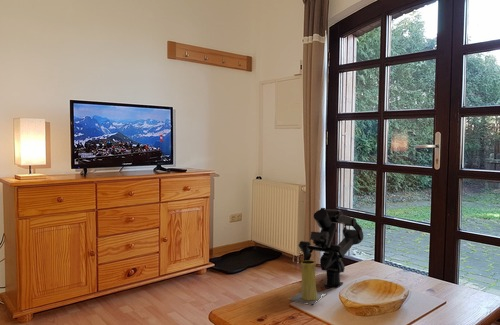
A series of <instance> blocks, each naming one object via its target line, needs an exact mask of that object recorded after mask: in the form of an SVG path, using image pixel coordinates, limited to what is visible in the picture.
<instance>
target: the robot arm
mask: <svg viewBox="0 0 500 325" xmlns="http://www.w3.org/2000/svg"><path fill="white" fill-rule="evenodd" d="M313 219H314V221H315V222H316V224H317V225H318V228H320V231H311V232H310V237H309V240H310V241H311V240H312V243H313V244H315V245H313V244H311V243H310V241H307V240H300V241H299V243H298V247H299V249H300V250H301V252H302V253H303V261H305V260H311V257H312V253H313V252H314V251H315V252H316V251H317V252H322V255H321V256H320V258H319V263H320V267H321V271H325V272H326V273H325V275H326V282H325V283H323V286H327V287H332V288H336V287H338V288H339V287H340V286H342V285H343V284H344V282H343V281H341V273H344V271H345V264H344V262H343V259H344V257H345V255H346V254H347V252H348V251H349V250H350V249H351V248H352V247H353V246H355V245H359V244H360V243H361V242H362V241H363V240H364V233H363V232H364V231H363V228H362V227H361V226H360V225H359V224H358V222H357V220H356V218H355V217H350V216H348V215H346V214H344V213H343V211H342V210H340V209H327V208H326V207H321V208H320V209H319V210H317V211H315V212H314V214H313ZM336 224H340V225H343V229H342V234H343V239H341V241H339V243H338V244H333V243H334V240H333V238H334V236H335V233H338V229H337V226H336ZM347 227H353V229H349V228H347Z"/></svg>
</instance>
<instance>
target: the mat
mask: <svg viewBox="0 0 500 325" xmlns="http://www.w3.org/2000/svg"><path fill="white" fill-rule="evenodd" d="M325 293H326V292H321V291H317V299H316V300H313V301H306V300H303V299H302V298H301V297H302V290H301V291H300V292H298V293H297V294H295V295H293V296H292V297H290V298H289V301H290V302H295V303H299V302H303V303H302V304H304V303H308V304H307V305H309V304H314V303H315V302H316V301H318V300H319V299H320V298H321V295H322V294H325ZM322 297H323V296H322ZM323 298H324V297H323ZM320 300H321V299H320ZM320 300H319V301H320ZM319 301H318V302H319ZM316 303H317V302H316ZM316 303H315V304H316ZM315 304H314V305H315Z"/></svg>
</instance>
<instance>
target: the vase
mask: <svg viewBox="0 0 500 325" xmlns="http://www.w3.org/2000/svg"><path fill="white" fill-rule="evenodd" d="M300 263H301V267H300V268H301V291H302V297H301V298H302V299H303V300H306V301H313V300H316V299H317V292H318V291H317V285H316V283H317V281H316V262H315V260H311V259H309V260H305V261H304V260H302V261H301V262H300Z"/></svg>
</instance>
